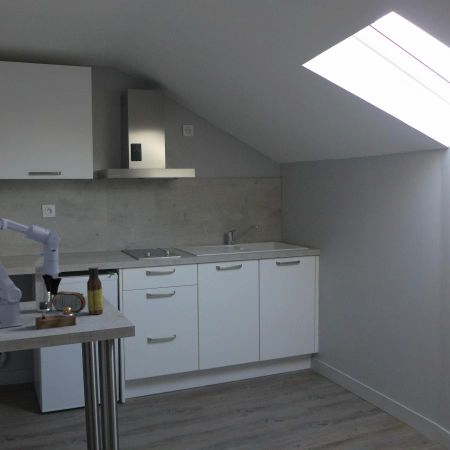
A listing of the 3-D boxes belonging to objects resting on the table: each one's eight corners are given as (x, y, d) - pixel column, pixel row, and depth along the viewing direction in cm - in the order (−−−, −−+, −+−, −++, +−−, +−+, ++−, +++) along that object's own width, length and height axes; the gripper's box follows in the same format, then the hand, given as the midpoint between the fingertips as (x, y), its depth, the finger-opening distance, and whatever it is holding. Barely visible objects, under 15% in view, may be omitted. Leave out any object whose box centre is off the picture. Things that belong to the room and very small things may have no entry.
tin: (86, 311, 260) (85, 292, 259) (82, 313, 257) (82, 293, 256) (55, 309, 264) (54, 290, 263) (51, 311, 261) (50, 291, 260)
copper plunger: (62, 325, 236) (62, 309, 235) (59, 322, 240) (58, 307, 239) (75, 324, 238) (74, 308, 237) (71, 321, 242) (71, 305, 242)
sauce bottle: (104, 311, 260) (103, 265, 258) (101, 315, 254) (101, 268, 252) (88, 311, 260) (88, 265, 258) (86, 315, 253) (85, 268, 252)
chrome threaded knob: (38, 320, 231) (38, 304, 230) (35, 317, 235) (35, 301, 235) (51, 319, 233) (51, 302, 233) (48, 316, 238) (48, 300, 237)
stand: (39, 329, 230) (39, 321, 230) (35, 325, 236) (35, 317, 236) (75, 325, 237) (75, 317, 237) (71, 321, 243) (71, 313, 243)
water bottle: (53, 311, 259) (52, 254, 257) (36, 313, 257) (35, 254, 254) (51, 308, 265) (50, 252, 263) (35, 309, 263) (34, 252, 261)
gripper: (65, 262, 241) (66, 295, 243) (56, 257, 254) (57, 289, 255) (47, 263, 238) (48, 297, 239) (39, 258, 251) (40, 290, 252)
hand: (51, 293), depth 247 cm, fingers open, 7 cm apart
